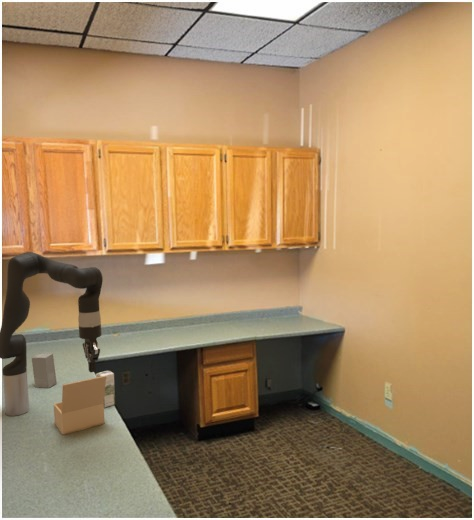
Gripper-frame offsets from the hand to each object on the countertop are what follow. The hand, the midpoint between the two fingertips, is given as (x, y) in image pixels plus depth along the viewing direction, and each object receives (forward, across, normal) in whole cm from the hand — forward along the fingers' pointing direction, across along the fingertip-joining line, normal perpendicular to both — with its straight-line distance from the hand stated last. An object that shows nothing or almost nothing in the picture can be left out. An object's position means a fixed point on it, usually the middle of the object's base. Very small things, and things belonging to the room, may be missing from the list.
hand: (92, 371), depth 164 cm
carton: (+26, -21, 0) cm, 34 cm away
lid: (+12, -13, 0) cm, 17 cm away
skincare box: (+27, -77, -1) cm, 82 cm away
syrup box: (+27, -33, +15) cm, 45 cm away
